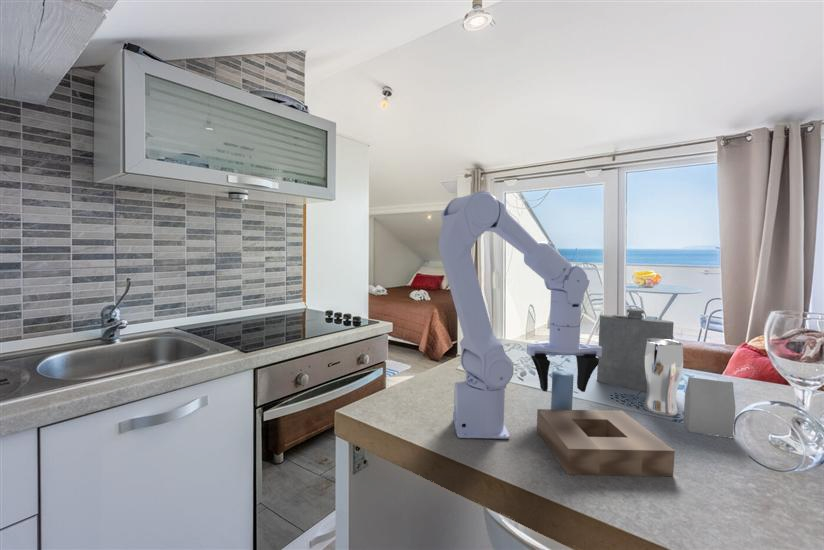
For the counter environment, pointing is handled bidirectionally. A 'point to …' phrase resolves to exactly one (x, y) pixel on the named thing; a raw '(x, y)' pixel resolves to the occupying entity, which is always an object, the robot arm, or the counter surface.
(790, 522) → the counter surface
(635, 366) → the hip flask
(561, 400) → the peg
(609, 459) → the socket board
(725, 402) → the grey angular block
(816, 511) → the counter surface
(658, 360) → the silver metal tumbler
